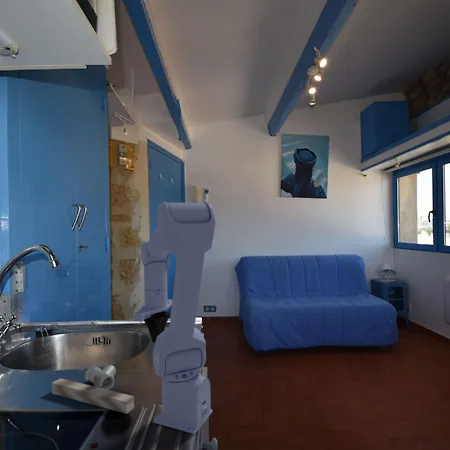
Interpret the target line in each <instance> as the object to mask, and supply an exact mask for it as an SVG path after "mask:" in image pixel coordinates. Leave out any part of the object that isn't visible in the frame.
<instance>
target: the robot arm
mask: <svg viewBox="0 0 450 450" xmlns="http://www.w3.org/2000/svg"><path fill="white" fill-rule="evenodd" d="M156 226H157V228H156V229H155V230H154V231H153V232H152V234H151V235H150V238H149V240H148V241H146V240H144V241H142V242H141V245H140V259H141V263H142V265H143V280H144V281H143V286H144V287H143V288H144V290H143V291H144V295H143V296H144V304H141V308H140V309H139V310H138V311H137V312H134V321H135V322H139V323H142V322H143V323H145V326H146V327H147V329H148V332H149V335H150V336H149V337H150V339H151V342H152V344H153V343H155V344H154V347H153V349H152V363H153V369H154V372H155V375H157V376H158V377H159V378H161V399H162V401H161V403H162V407H161V408H162V412H160V413H159V414H158V415H157V416H156V417H155V418H154V419H153V423H154V424H157V425H160V426H161V425H162V426H164V427H169V428H172V429H174V430H179V431H182V432H186V433H190V434H196V433H197V432H198V431H199V429H201V427H202V426H203V425H204V423H205V422H206V421H207V419H208V418H209V417H210V416H211V414H212V413H213V409H212V407H211V399H212V398H211V395H212V394H211V382H210V379H209V378H207V377H205V376H203V375H202V374H201V369H203V368H204V367H205V364H206V361H207V351H206V350H207V349H206V344H207V342H206V339H205V337H204V335H203V333H202V331H201V330H200V329H198V328H197V327H195V326H196V320H197V318H196V317H197V311H198V305H199V304H198V303H199V296H200V291H201V290H200V289H201V282H202V275H203V267H204V262H205V255H206V253H207V252H208V251H209V250H211V248H212V246H213V240H214V237H215V229H216V228H215V227H216V216H215V212H214V208H213V206H212V205H211V204H210V203H209V202H208V201H207V202H206V201H203V202H167V201H162V202H160V203H159V204H158V207H157V210H156ZM171 254H172V255H174V256H175V259H176V262H175V263H176V264H175V273H174V282H173V290H172V292H173V293H172V298H169V299H168V270H169V269H170V267H169V266H170V265H169V264H170V259H171V258H170V257H171ZM169 309H171V310H170V311H167V310H169ZM169 319H170V320H169ZM168 321H169V325H168V327H167V328H166V325H167V322H168Z"/></svg>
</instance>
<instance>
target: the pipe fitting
mask: <svg viewBox="0 0 450 450" xmlns="http://www.w3.org/2000/svg"><path fill="white" fill-rule="evenodd" d="M116 372H117V370H116V367H115V366H114V365H112V364H107V365H105V366H104V367H103V368H100V367H98V366H95V365H91V366H90V367H89V368H87V370H86V371H85V375H84V377H85V380H86V381H88V382H91V383H92V384H94V376H95V375H102V389H106V390H111V389H112V388H113V387H114V384H115V377H114V376H115V375H116Z"/></svg>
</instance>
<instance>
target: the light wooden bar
mask: <svg viewBox="0 0 450 450" xmlns="http://www.w3.org/2000/svg"><path fill="white" fill-rule="evenodd" d="M51 394H52V395H57V396H61V397H63V398H68V399H71V400H75V401H78V402H82V403H86V404H89V405H94V406H97V407H100V408H104V409H108V410H111V411H115V412H118V413H122V414H125V415H127V414H129V413H130V412H131V411H133V409H135V396H134V395H129V394H127V393H122V392H117V391H114V390H111V389H109V390H106V389H102V375H95V376H94V383H93V385H89V384H86V383H81V382H78V381H77V382H76V381H74V380H69V379H64V378H61V377H60V378H59V379H57V380H55V381H53V382H51Z"/></svg>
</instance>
